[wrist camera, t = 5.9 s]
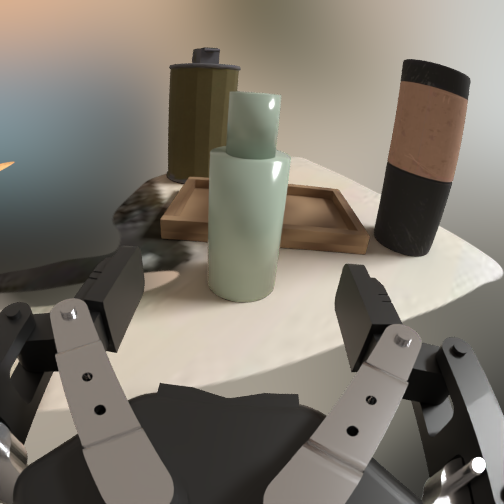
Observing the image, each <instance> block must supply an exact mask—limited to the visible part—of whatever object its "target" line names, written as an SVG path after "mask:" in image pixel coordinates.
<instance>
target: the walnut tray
mask: <svg viewBox="0 0 504 504" xmlns="http://www.w3.org/2000/svg"><path fill="white" fill-rule="evenodd" d="M208 208H209V178H204V177H189V178H188V179H187V181H186V182H185V184H184V185H183V187H182V188H181V190H180V191H179V192H178V194H177V195H176V197H175V198H174V200H173V201H172V203H171V204H170V206H169V207H168V209H167V210H166V212H165V213H164V215H163V216H162V218H161V219H160V222H161V238H162V239H176V240H189V241H203V242H208ZM369 238H370V236H369V234H368V233H367V231H366V229H365V228H364V226H363V225H362V223H361V222H360V220H359V219H358V217H357V216H356V214H355V213H354V211H353V210H352V208H351V207H350V205H349V204H348V202H347V201H346V200H345V198H344V197H343V195H342V194H341V192H340V191H339V190H338V189H331V188H322V187H313V186H304V185H294V184H288V187H287V195H286V203H285V211H284V218H283V226H282V233H281V241H280V247H281V248H294V249H306V250H319V251H331V252H343V253H356V254H365V253H366V250H367V246H368V242H369Z"/></svg>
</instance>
